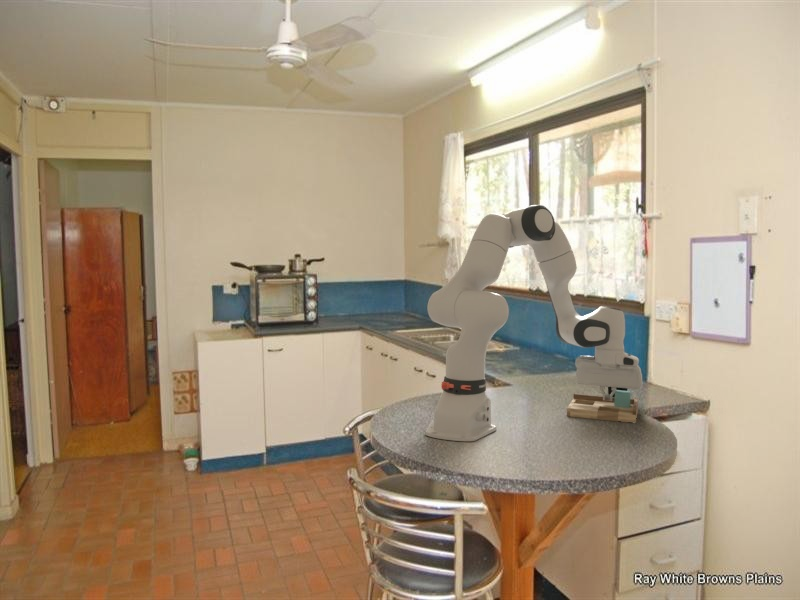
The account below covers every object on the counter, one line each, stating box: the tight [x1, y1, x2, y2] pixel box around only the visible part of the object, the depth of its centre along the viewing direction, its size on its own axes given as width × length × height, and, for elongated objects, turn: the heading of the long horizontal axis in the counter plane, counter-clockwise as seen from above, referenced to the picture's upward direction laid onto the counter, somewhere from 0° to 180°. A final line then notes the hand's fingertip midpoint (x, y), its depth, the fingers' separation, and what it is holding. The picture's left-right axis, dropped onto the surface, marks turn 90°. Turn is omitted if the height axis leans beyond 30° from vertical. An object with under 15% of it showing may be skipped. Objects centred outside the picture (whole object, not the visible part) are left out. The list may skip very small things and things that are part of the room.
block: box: [614, 390, 632, 408], centre depth 197 cm, size 4×4×4 cm
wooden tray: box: [566, 393, 639, 424], centre depth 197 cm, size 16×20×4 cm
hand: (607, 400), depth 199 cm, fingers closed
